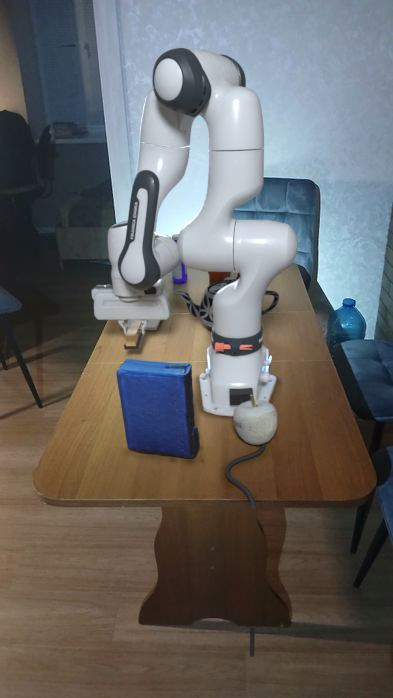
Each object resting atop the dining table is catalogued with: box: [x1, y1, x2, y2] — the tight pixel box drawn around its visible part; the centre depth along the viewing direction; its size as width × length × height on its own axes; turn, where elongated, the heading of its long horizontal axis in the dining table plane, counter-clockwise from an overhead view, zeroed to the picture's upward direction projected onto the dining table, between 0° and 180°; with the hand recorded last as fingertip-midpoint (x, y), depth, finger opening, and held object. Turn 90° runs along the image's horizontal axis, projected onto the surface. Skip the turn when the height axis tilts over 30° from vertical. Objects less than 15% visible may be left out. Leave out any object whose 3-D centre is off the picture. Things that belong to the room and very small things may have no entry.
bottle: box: [171, 233, 188, 284], centre depth 186 cm, size 7×6×17 cm
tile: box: [125, 320, 162, 331], centre depth 160 cm, size 20×10×1 cm, turn 172°
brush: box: [123, 320, 147, 350], centre depth 135 cm, size 11×4×4 cm, turn 175°
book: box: [115, 358, 200, 459], centre depth 95 cm, size 14×5×20 cm, turn 76°
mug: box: [207, 272, 240, 286], centre depth 173 cm, size 12×9×10 cm
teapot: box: [173, 276, 280, 331], centre depth 148 cm, size 19×31×15 cm, turn 91°
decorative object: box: [232, 395, 279, 446], centre depth 100 cm, size 9×9×10 cm
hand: (134, 333), depth 135 cm, fingers closed on brush, 2 cm apart
